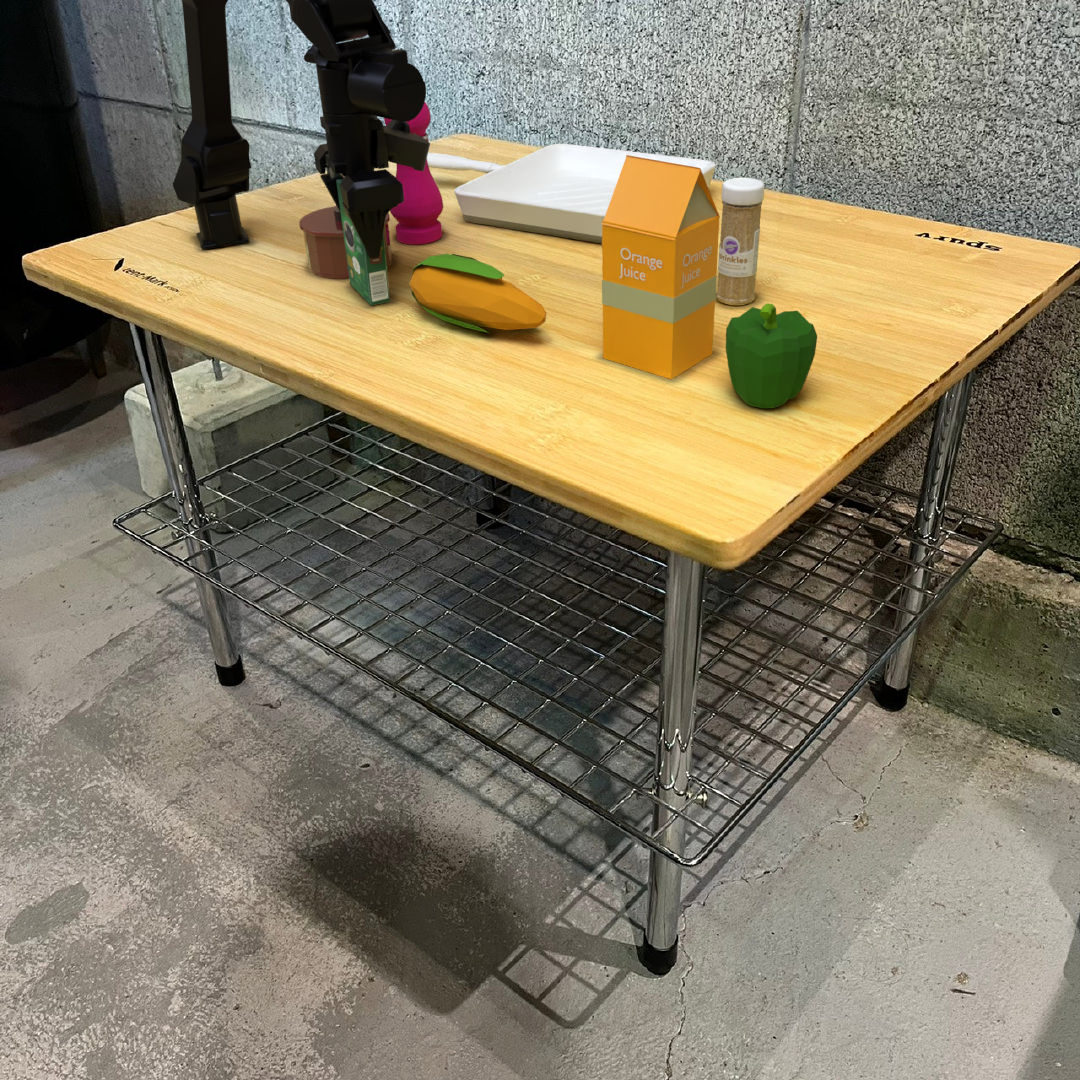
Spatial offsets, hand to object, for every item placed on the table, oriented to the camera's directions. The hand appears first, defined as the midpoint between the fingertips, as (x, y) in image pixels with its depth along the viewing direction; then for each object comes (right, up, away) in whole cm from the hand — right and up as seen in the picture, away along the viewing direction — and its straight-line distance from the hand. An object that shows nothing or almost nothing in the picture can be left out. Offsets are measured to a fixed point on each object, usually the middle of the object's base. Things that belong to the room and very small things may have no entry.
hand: (366, 246), depth 129 cm
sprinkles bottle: (+43, -7, -2) cm, 44 cm away
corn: (+14, -11, -6) cm, 19 cm away
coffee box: (0, -5, +3) cm, 6 cm away
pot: (-4, +1, +13) cm, 13 cm away
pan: (+21, +15, +32) cm, 41 cm away
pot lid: (-4, +6, +10) cm, 12 cm away
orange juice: (+33, -16, -14) cm, 39 cm away
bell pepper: (+42, -21, -23) cm, 53 cm away
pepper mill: (+4, +7, +20) cm, 22 cm away
